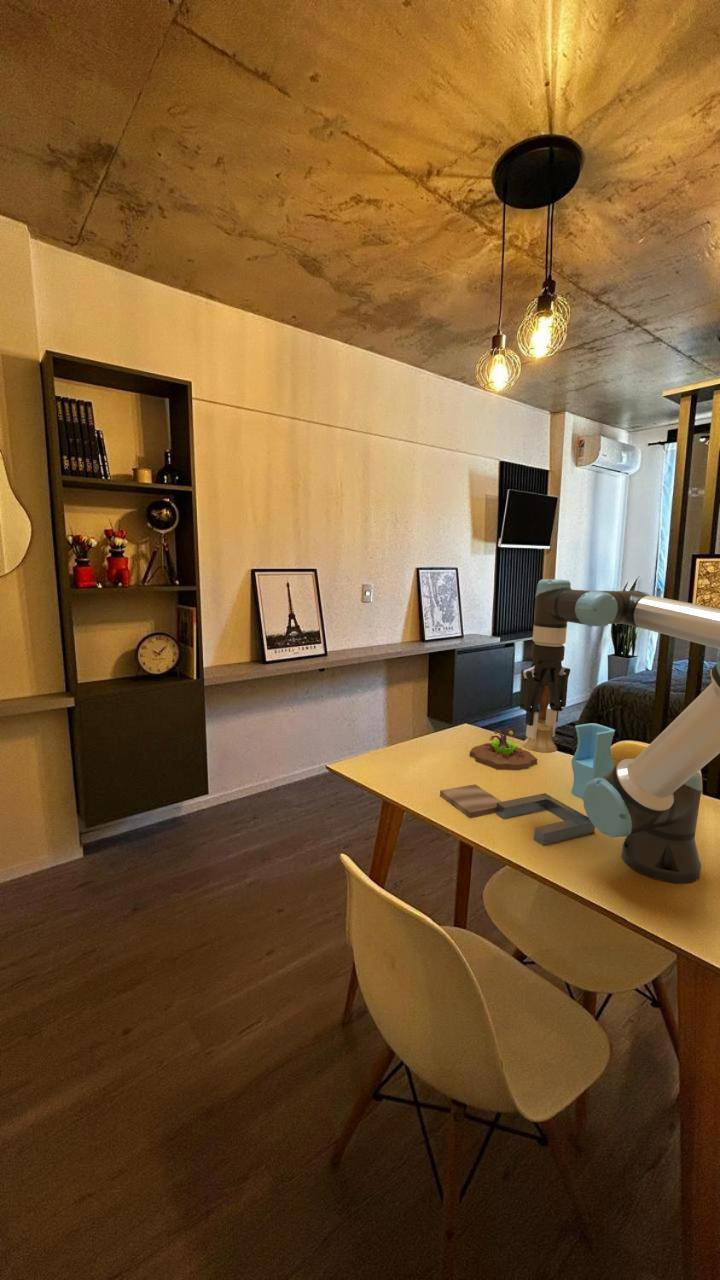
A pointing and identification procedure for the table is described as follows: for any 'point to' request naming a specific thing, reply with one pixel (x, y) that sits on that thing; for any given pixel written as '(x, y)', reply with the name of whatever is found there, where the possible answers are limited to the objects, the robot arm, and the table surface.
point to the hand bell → (542, 728)
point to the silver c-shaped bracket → (549, 833)
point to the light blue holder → (591, 755)
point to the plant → (503, 754)
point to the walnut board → (471, 800)
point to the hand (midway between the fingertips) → (540, 736)
